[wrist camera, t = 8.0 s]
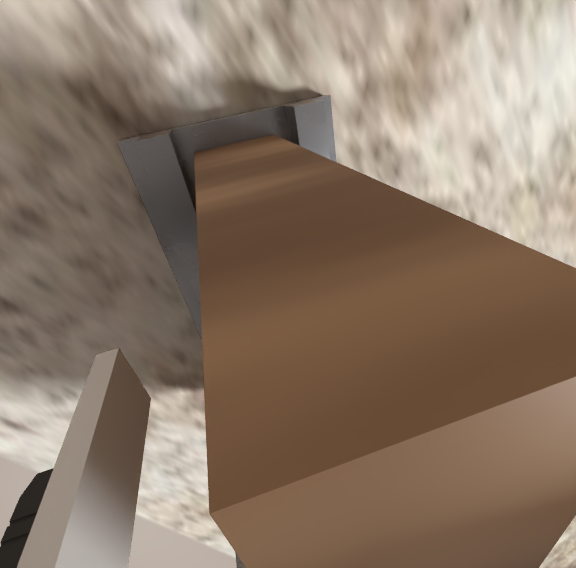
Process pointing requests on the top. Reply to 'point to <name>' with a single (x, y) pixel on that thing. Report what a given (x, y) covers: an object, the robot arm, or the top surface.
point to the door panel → (377, 372)
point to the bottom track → (181, 175)
